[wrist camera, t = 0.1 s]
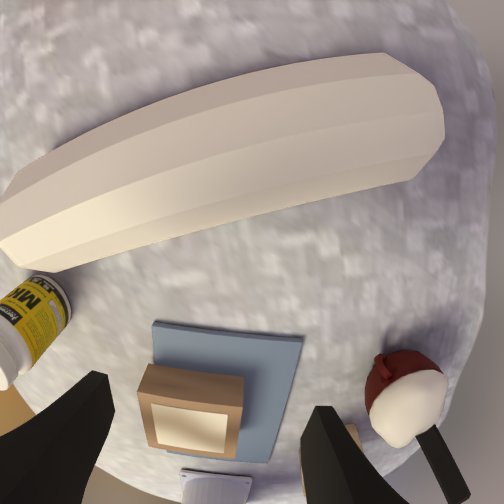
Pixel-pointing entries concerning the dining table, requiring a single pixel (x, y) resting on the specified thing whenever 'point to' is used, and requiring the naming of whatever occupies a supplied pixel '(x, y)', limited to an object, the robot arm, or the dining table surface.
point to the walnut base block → (191, 410)
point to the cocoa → (413, 412)
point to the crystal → (222, 158)
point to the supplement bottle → (30, 325)
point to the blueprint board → (237, 364)
